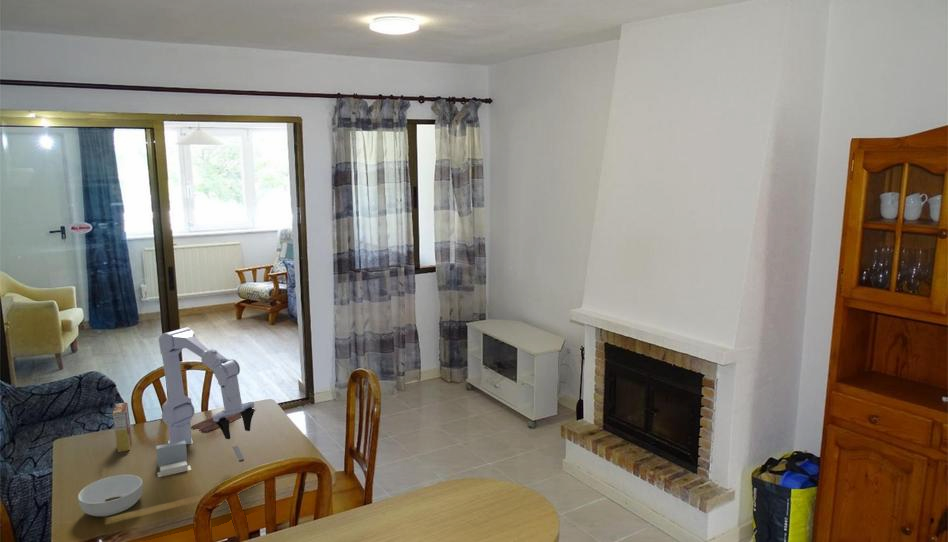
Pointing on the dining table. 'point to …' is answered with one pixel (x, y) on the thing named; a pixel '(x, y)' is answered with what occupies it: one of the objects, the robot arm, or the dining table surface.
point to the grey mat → (238, 453)
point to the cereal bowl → (110, 495)
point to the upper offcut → (173, 468)
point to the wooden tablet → (213, 423)
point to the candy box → (122, 427)
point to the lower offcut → (173, 473)
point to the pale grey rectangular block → (171, 453)
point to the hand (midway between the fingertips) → (238, 434)
